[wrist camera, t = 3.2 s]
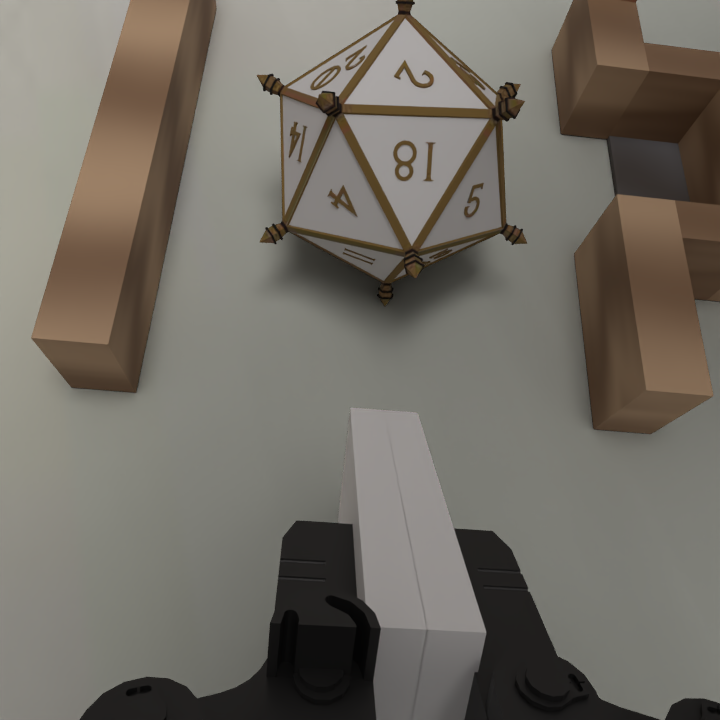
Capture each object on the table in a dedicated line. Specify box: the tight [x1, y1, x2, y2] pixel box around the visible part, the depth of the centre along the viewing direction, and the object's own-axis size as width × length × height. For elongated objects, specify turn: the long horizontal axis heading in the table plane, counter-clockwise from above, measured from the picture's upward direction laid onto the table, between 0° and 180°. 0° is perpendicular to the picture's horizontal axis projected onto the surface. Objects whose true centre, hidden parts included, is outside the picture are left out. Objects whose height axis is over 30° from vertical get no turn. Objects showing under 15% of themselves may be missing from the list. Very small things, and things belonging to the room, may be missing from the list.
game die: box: [257, 0, 527, 306], centre depth 20 cm, size 9×8×10 cm
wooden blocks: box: [31, 0, 720, 434], centre depth 23 cm, size 18×24×4 cm
